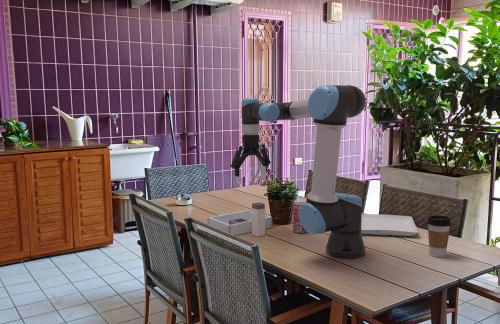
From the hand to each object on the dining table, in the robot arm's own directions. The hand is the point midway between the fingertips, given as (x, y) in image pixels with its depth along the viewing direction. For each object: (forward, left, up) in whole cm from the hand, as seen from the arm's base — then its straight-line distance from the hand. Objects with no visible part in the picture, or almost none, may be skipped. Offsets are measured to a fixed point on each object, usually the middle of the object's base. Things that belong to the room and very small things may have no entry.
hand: (251, 182), depth 215 cm
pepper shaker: (-4, -1, -23) cm, 23 cm away
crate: (+10, -1, -23) cm, 25 cm away
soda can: (-12, -19, -23) cm, 32 cm away
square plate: (-32, -52, -24) cm, 65 cm away
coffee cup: (-68, -38, -23) cm, 81 cm away
